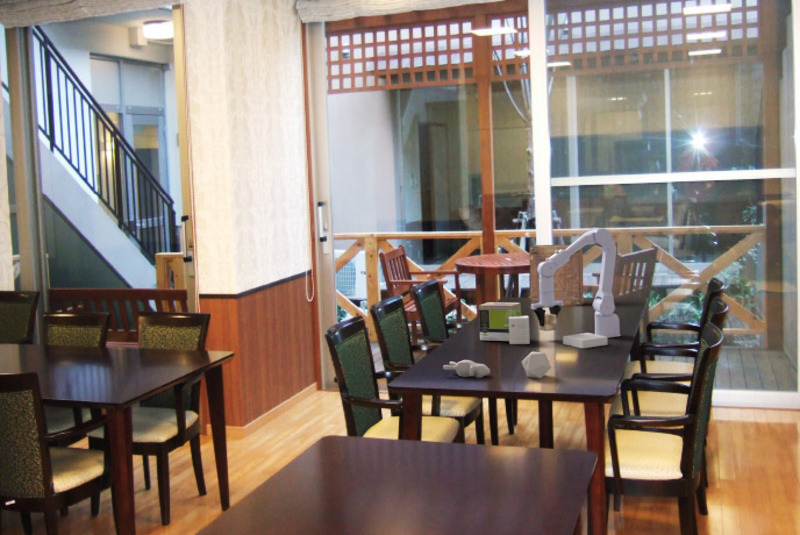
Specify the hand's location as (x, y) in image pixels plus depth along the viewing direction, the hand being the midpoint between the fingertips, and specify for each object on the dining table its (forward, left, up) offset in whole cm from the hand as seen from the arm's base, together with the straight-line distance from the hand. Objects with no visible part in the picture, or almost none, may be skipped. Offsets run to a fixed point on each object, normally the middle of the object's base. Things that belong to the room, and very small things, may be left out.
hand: (547, 325), depth 355 cm
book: (-61, -76, -6) cm, 98 cm away
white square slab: (-6, +16, -6) cm, 18 cm away
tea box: (+14, -13, -6) cm, 20 cm away
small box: (+12, -2, -6) cm, 14 cm away
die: (+41, +50, -6) cm, 65 cm away
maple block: (0, 0, -2) cm, 2 cm away
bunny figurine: (+59, +35, -6) cm, 69 cm away
